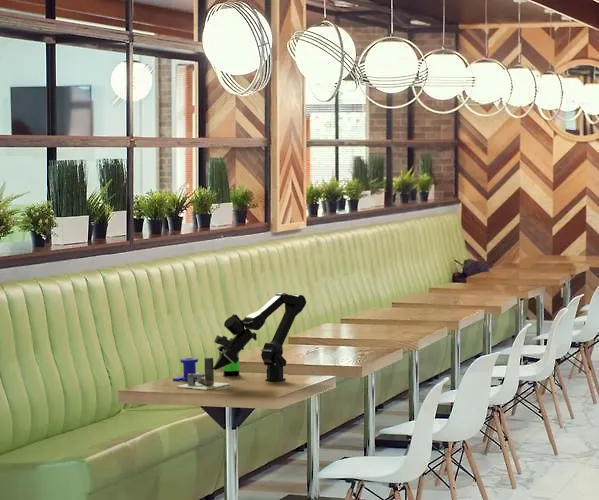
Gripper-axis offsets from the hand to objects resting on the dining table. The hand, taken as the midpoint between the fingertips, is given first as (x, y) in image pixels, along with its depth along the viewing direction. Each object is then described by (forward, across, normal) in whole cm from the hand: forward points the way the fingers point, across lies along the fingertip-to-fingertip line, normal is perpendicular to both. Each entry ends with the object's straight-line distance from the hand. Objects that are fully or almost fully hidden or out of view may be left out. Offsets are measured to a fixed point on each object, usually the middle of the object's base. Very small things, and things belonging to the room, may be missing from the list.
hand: (214, 369), depth 502 cm
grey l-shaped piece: (+6, -5, +2) cm, 9 cm away
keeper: (+10, -5, 0) cm, 11 cm away
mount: (+10, -26, +1) cm, 28 cm away
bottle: (-4, -29, +14) cm, 32 cm away
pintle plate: (+8, -3, +2) cm, 9 cm away
